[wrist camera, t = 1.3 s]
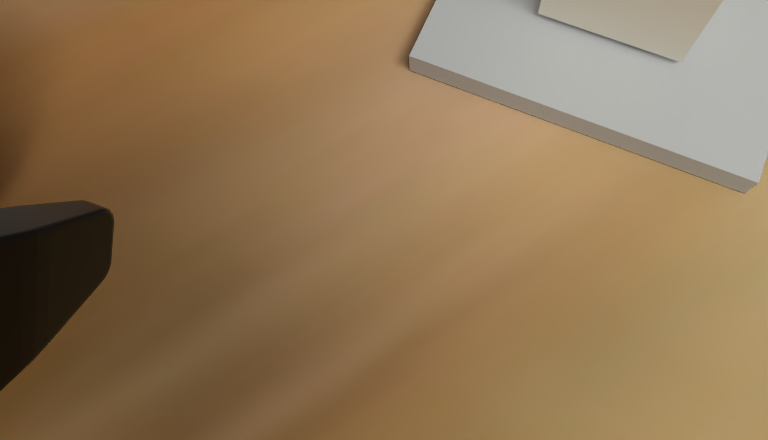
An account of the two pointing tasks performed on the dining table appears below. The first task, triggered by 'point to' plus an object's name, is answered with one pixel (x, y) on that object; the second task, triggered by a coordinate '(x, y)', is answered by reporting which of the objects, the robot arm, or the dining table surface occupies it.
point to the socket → (616, 81)
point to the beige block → (639, 21)
